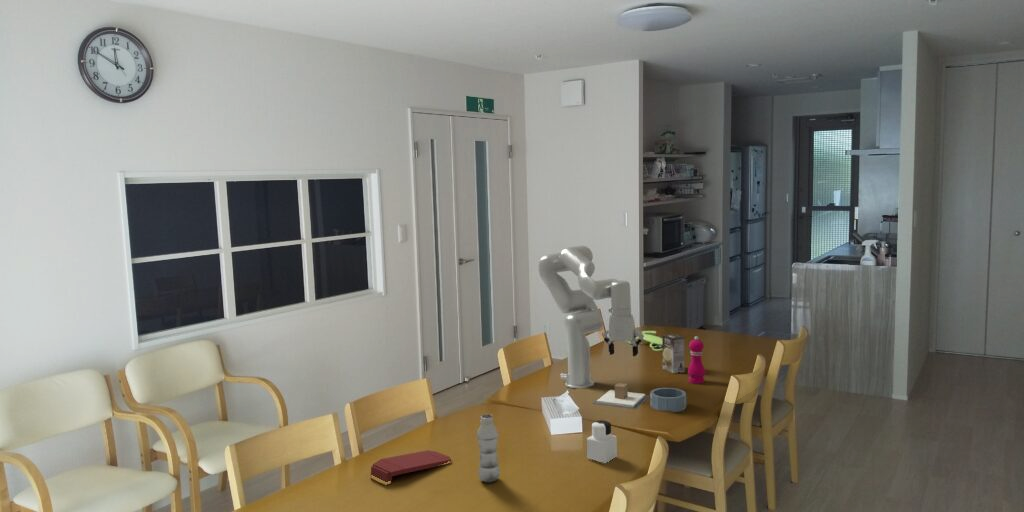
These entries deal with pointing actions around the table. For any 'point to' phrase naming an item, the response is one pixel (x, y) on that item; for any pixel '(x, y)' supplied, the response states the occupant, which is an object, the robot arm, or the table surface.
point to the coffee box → (673, 353)
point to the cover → (621, 397)
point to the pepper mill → (696, 362)
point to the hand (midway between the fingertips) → (623, 354)
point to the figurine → (652, 339)
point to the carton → (407, 464)
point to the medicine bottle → (601, 442)
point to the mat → (623, 406)
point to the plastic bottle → (488, 449)
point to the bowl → (668, 399)
